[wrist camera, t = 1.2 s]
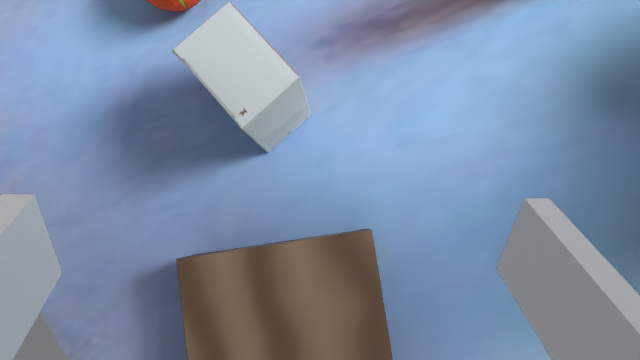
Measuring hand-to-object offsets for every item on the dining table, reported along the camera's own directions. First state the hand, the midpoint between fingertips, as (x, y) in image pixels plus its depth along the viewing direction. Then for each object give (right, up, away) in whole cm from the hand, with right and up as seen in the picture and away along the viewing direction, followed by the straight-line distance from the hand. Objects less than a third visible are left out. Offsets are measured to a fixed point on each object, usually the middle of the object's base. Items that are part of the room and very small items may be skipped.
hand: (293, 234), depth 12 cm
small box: (-5, +9, +28) cm, 30 cm away
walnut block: (-2, -12, +26) cm, 29 cm away
